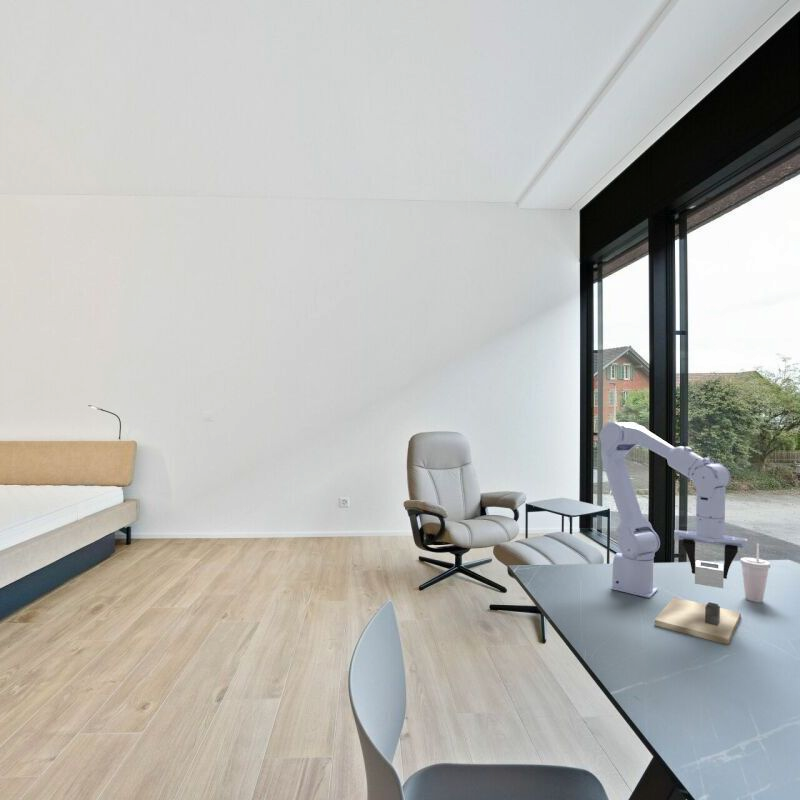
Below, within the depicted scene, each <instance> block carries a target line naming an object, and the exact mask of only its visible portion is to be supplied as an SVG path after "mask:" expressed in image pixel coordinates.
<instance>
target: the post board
mask: <svg viewBox="0 0 800 800" xmlns="http://www.w3.org/2000/svg"><path fill="white" fill-rule="evenodd" d="M741 616H742V612H740V611H736V610H731V609H727V608H723V607H721V606H720V605H719V604H718V603H714V602H708V603H707V604H705V603H703V602H702V603H701V602H698V601H697V602H696V601H693V600H689V599H684V598H679V597H675V596H674V597H673V598H672V599H671V600H670V601H669V602H668V603H667V605H665V607H664V608H663V609H662V610H661V611H660V613H658V615H657V616H656V618H655V619H654V626H656V627H660V628H663V629H666V630H667V629H668V630H671V631H676V632H679V633H682V634H686V635H690V636H694V637H698V638H702V639H705V640H709V641H713V642H716V643H719V644H722V645H723V644H724V645H727V646H728V645H729V644H730V642H731V640H732V638H733V635H734V633H735V632H736V629H737V626H738V624H739V622H740V621H741Z"/></svg>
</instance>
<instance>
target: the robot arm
mask: <svg viewBox="0 0 800 800" xmlns="http://www.w3.org/2000/svg"><path fill="white" fill-rule="evenodd" d="M598 437H599V439H600V443H601V451H600V452H601V454H600V455H601V456H600V457H601V458H600V459H601V461H602V464H603V467H604V470H605V473H606V478H607V481H608V484H609V486H610V489H611V493H612V496H613V497H612V498H613V499H614V503H615V506H616V509H617V512H618V516H619V519H620V523H619V524H618V526H617V528H616V530H615V531H616V533H617V547H618V550H619V551H620V552H616V553H615V555H614V557H613V560H612V575H611V576H612V582H611V583H612V584H611V585H612V586H611V590H615V591H619V592H623V593H626V594H631V595H635V596H640V597H643V598H647V599H650V598H652V597H653V595H654V594H655V593H656V592H657V591H658V590H659V589H658V587H655V586H654V566H655V565H654V564H655V563H654V561H655V559H654V557H656V556H655V553H656V552H658V550H659V549H660V546H661V540H660V537H659V535H658V533H657V532H656V531H655V530H654V528H653V526H652V524H651V523H652V522H650V521H649V520H648V519H646V518H645V517H644V516H643V514H642V511H641V508H640V504H639V501H638V498H637V495H636V492H635V489H634V486H633V485H634V484H633V483H632V479H631V476H630V473H629V470H628V467H627V464H626V461H625V460H626V459H625V458H626V457H627V455H628V453H629V452H630V451H632V449H634V448H635V447H636V446H637V445H639V446H643V447H644V448H646V449H648V450H650V451H651V452H654V453H655V454H657V455H659V456H661V457H663V458H664V459H666V460H667V466H669V467H671V468H672V469H674V470H675V471H677V472H679V473H680V474H682V475H683V476H685V477H687V478H688V479H690V480H691V482H692V484H693V485H694V486H695V494H696V506H695V507H696V510H695V514H696V515H695V530H694V531H693V530H678V529H675V530H674V532H673V533H674V535H673V538H674V539H673V540H674V541H675V540H676V541H680V540H681V541H682V546H683V548H684V551H685V553H686V554H687V557H688V561H689V565H690V569H691V574H693V575H695V563H696V543H703V544H709V545H717V546H724V554H723V555H724V556H723V557H724V561H723V568H724V577H723V580H724V579H726V580H727V578H728V573H729V569H730V567H731V565H732V563H733V561H734V559H735V558H736V556H737V554H738V551H739V548H740V549H741V550H748V539H747V538H744V537H737V536H730V535H725V527H726V526H725V524H726V523H725V521H726V487H727V486H728V485H729V484H730V482H731V478H732V476H731V471H730V470H729V469H728V467H726V466H725V465H724V464H722V463H720V462H711V461H710V458H708V457H703V456H701V455H699V454H697V453H695V452H693V448H692V447H690V446H683V445H682V446H681V445H680V446H676V447H675V446H673V445H671V444H670V443H668V441H665V440H663V439H662V438H661V437H659V436H657V435H656V434H655V433H653V432H651V431H650V430H648V429H647V428H646V427H645V426H643V425H640V424H639V423H637V422H634V421H628V422H625V421H623V422H616V421H615V422H614V421H609V422H607V423H605V424H604V425H603V426H602V429H600V432H599V434H598Z"/></svg>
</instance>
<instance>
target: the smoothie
mask: <svg viewBox="0 0 800 800" xmlns="http://www.w3.org/2000/svg"><path fill="white" fill-rule="evenodd" d="M755 556H756V558H755V557H741V558H740V561H739V563H740V564H741V570H742V578H743V588H744V596H745V597H744V598H745V599H746V600H748V601H750V602H754V603H762V602H764V599H765V591H766V586H767V582H768V581H767V580H768V579H767V578H768V574H769V569H771V563H770V562H769V561H767V560H765V559H762V558H760V543H756V555H755Z"/></svg>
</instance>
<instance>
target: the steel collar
mask: <svg viewBox="0 0 800 800" xmlns="http://www.w3.org/2000/svg"><path fill="white" fill-rule="evenodd" d="M723 577H724V563H717V562H712V561H704V560H698V559H695V574H694V584H695V585H700V586H707V587H712V588H719V589H724V578H723Z"/></svg>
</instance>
